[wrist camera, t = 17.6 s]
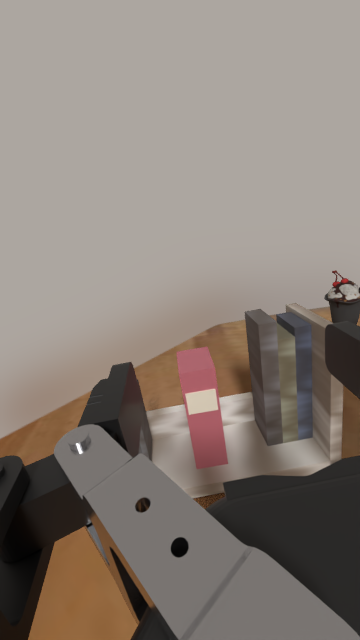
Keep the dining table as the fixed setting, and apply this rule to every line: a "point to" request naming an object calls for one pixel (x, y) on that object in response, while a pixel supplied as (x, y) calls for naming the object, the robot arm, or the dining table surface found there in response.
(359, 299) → the sundae
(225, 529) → the robot arm
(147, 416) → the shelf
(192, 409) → the book
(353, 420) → the dining table surface
